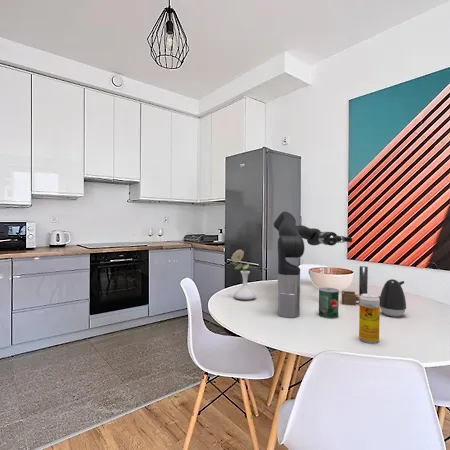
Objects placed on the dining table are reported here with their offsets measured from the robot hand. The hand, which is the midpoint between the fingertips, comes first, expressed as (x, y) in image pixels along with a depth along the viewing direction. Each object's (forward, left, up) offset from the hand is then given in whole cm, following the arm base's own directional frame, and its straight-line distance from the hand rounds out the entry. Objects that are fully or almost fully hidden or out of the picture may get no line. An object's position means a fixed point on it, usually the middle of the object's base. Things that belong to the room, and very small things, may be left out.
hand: (344, 240), depth 161 cm
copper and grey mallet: (-9, -9, -30) cm, 33 cm away
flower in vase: (-19, +48, -30) cm, 60 cm away
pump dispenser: (-23, -19, -30) cm, 43 cm away
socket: (-9, -2, -30) cm, 31 cm away
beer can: (-58, -6, -30) cm, 66 cm away
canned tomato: (-34, +7, -30) cm, 46 cm away
